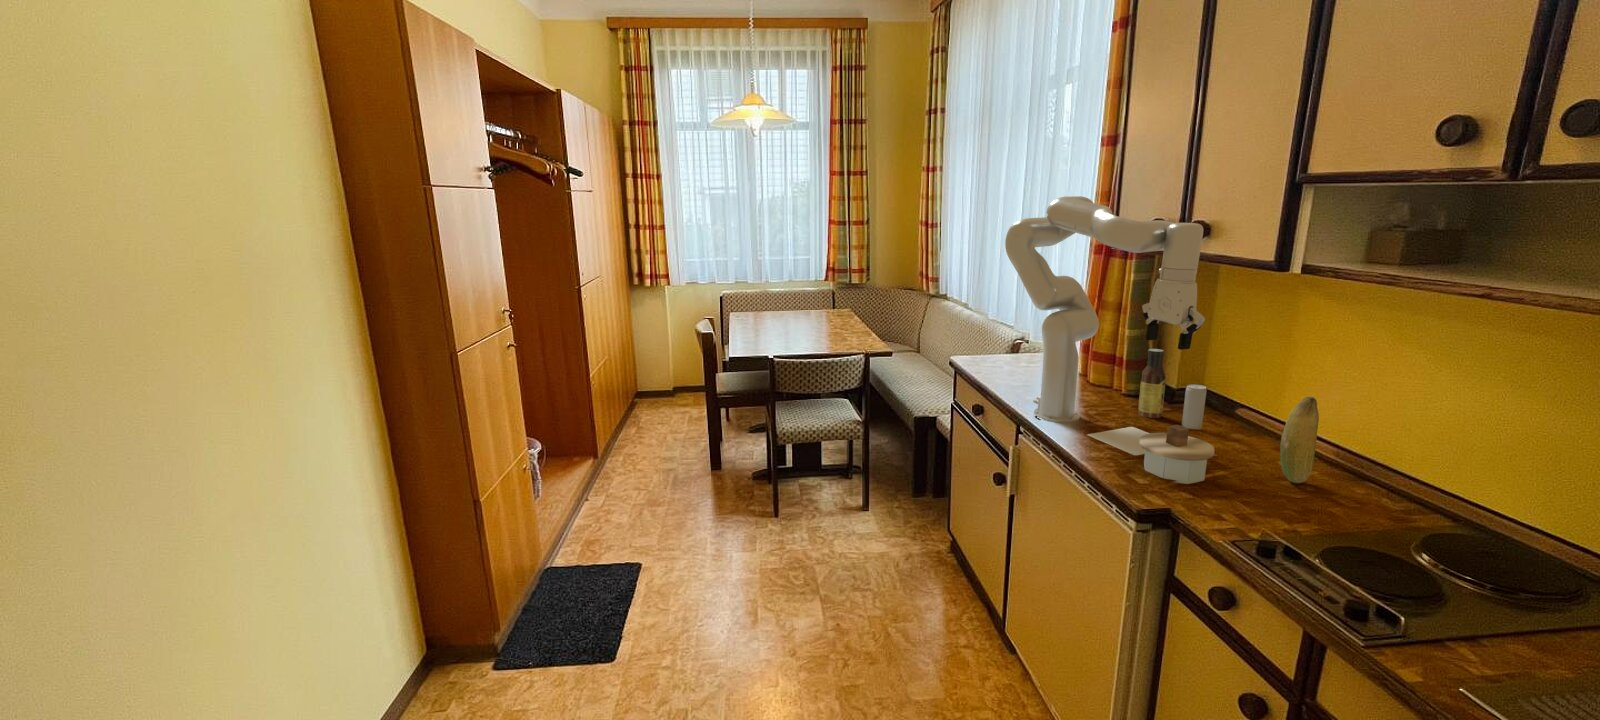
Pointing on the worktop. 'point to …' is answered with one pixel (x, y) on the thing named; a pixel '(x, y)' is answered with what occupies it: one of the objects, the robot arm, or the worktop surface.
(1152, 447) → the lid
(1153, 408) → the sauce bottle
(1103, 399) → the worktop surface
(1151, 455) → the bowl
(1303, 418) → the vegetable
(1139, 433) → the mat
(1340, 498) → the worktop surface
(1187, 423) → the beverage can
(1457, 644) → the worktop surface
